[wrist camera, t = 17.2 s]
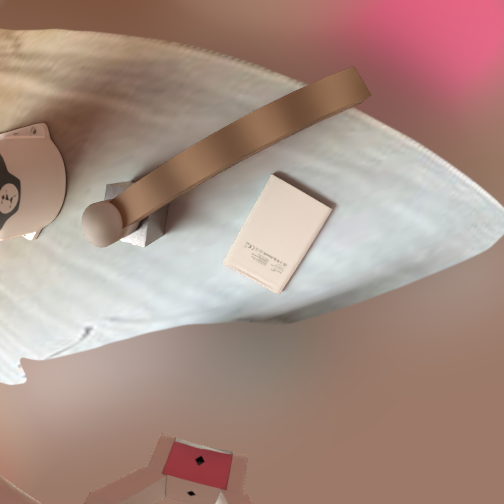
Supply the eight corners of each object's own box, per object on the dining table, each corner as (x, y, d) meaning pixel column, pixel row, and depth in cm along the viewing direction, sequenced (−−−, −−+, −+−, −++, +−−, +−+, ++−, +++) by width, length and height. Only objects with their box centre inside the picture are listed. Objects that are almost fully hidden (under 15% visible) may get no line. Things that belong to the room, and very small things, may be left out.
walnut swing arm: (118, 242, 33) (95, 254, 28) (100, 209, 32) (75, 216, 27) (363, 109, 27) (378, 100, 22) (342, 71, 26) (352, 55, 21)
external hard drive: (330, 207, 37) (279, 290, 40) (271, 173, 36) (224, 260, 40) (333, 209, 35) (279, 295, 39) (271, 173, 35) (221, 264, 38)
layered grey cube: (123, 224, 39) (100, 234, 33) (130, 180, 38) (106, 184, 32) (163, 235, 39) (144, 247, 33) (171, 189, 37) (152, 194, 32)
